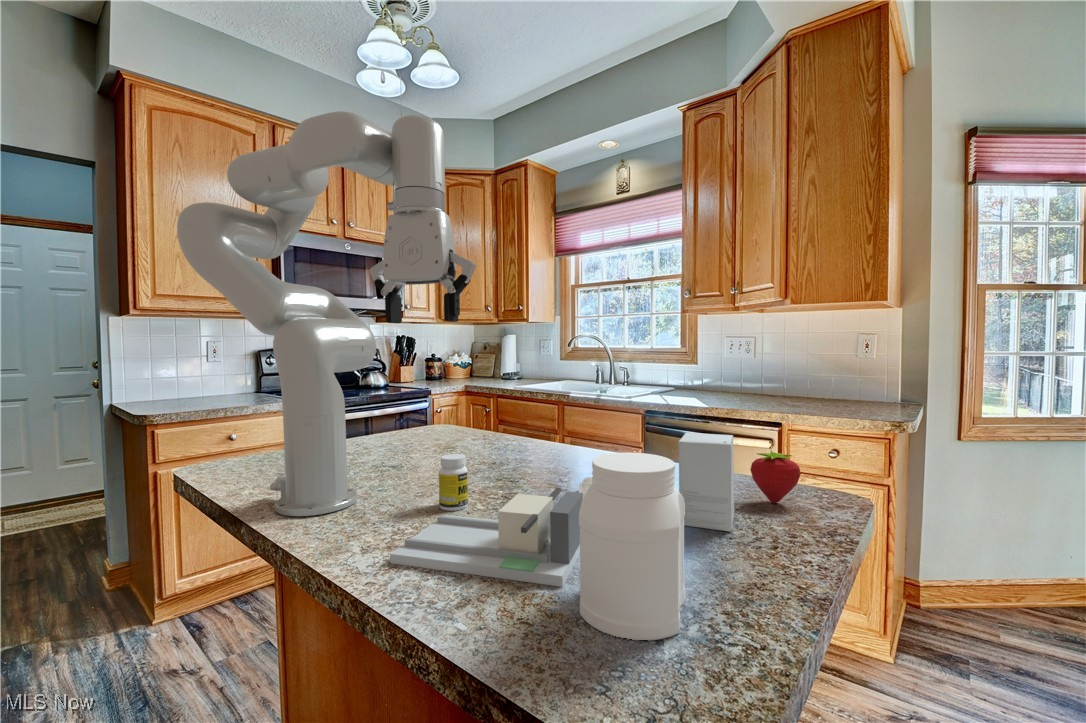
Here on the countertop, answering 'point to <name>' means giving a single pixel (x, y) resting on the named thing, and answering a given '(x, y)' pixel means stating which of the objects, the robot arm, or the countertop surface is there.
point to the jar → (632, 547)
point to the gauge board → (496, 547)
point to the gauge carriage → (526, 522)
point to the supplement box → (707, 480)
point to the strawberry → (775, 475)
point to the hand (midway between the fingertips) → (422, 322)
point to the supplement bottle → (453, 483)
